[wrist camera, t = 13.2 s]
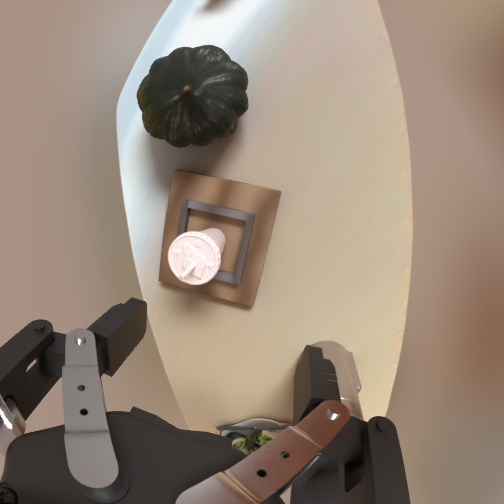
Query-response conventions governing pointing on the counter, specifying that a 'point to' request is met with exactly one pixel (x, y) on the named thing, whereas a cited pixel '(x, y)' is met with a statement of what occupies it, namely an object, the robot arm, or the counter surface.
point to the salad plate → (252, 433)
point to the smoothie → (196, 255)
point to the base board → (229, 222)
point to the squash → (193, 96)
